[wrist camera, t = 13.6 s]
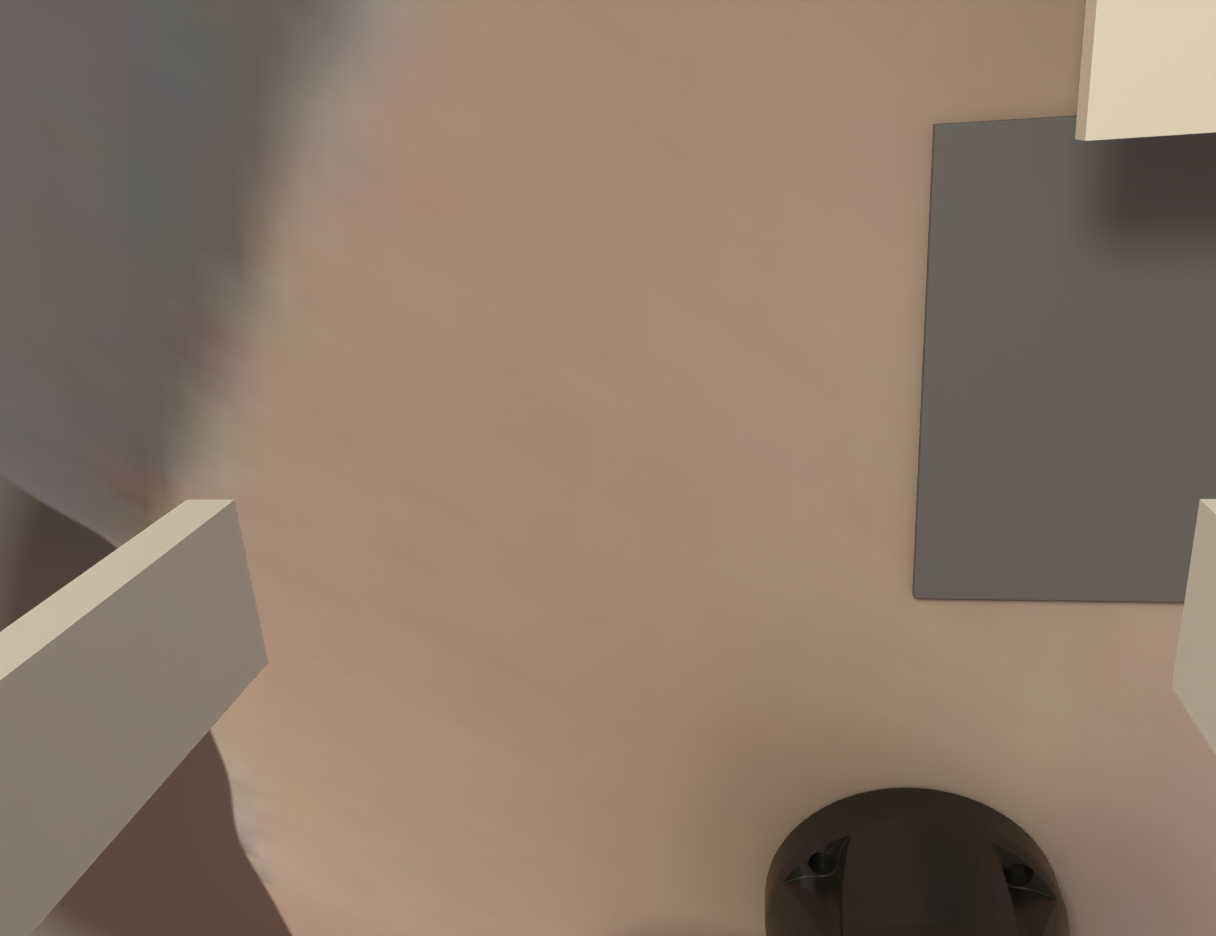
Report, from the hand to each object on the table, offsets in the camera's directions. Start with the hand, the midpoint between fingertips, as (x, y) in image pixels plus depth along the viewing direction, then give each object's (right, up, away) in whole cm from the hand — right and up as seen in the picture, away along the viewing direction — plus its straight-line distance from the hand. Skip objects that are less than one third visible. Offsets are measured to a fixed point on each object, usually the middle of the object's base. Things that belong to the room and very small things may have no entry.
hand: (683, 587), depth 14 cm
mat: (+23, +6, +28) cm, 37 cm away
